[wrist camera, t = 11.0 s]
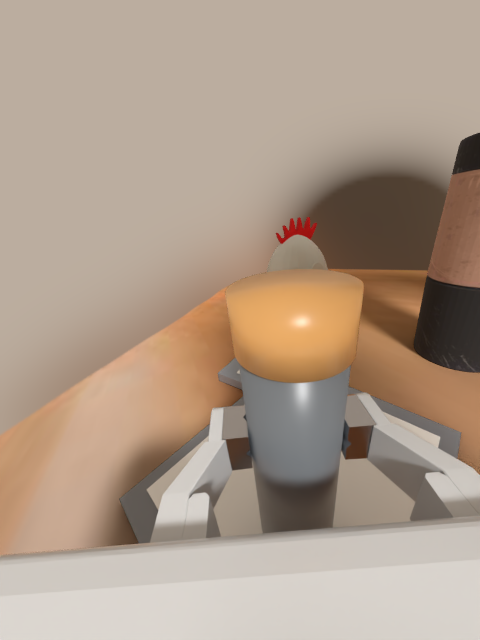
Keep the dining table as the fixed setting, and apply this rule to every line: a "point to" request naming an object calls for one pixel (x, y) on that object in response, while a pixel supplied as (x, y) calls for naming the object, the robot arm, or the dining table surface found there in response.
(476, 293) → the travel mug
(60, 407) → the dining table surface
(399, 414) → the paper pad
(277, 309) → the marker
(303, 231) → the kitchen timer
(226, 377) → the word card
